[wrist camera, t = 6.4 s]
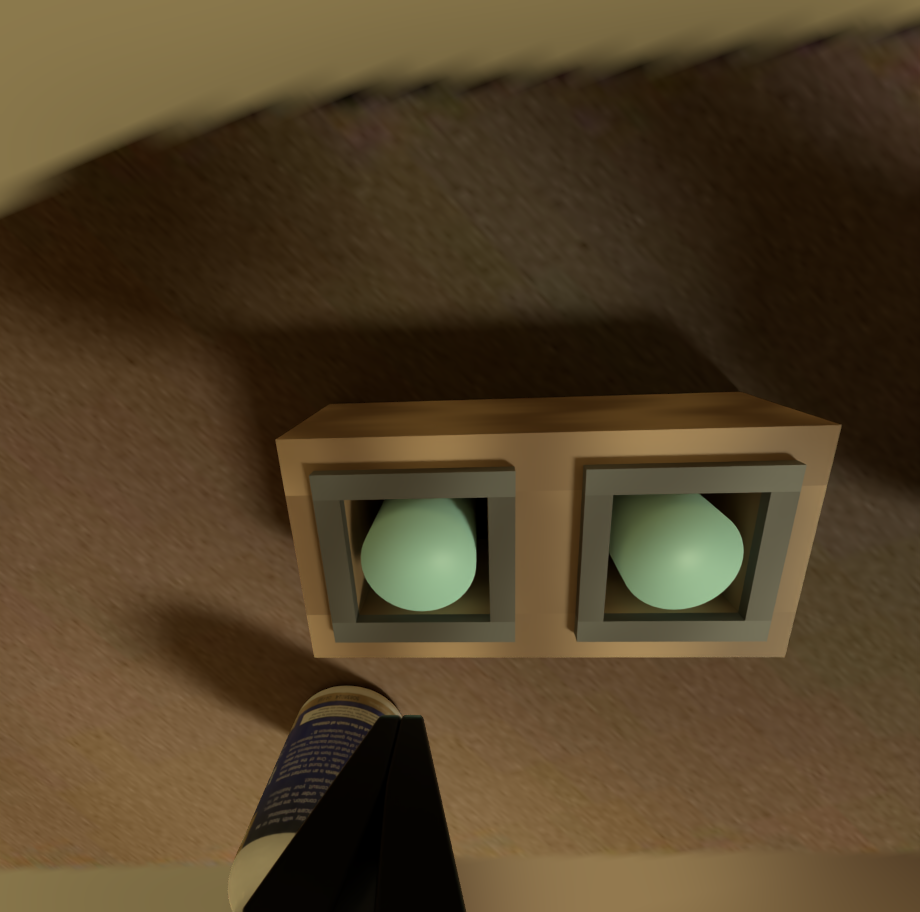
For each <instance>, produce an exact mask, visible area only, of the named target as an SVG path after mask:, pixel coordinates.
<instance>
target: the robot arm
mask: <svg viewBox="0 0 920 912" xmlns="http://www.w3.org/2000/svg"><path fill="white" fill-rule="evenodd" d="M242 912H466V909H465V904H464V900H463V895H462V891H461V886H460V882H459V877H458V872H457V868H456V864H455V859H454V854H453V850H452V845H451V841H450V836H449V832H448V827H447V823H446V818H445V814H444V809H443V805H442V800H441V796H440V791H439V787H438V782H437V777H436V773H435V768H434V764H433V759H432V755H431V750H430V746H429V741H428V737H427V732H426V728H425V723H424V719H423V717H422V716H421V715H404V716H403V717H402V718H401V716H399V715H382V716H380V717H379V718H378V719H377V720H376V722H375V723H374V725H373V726H372V727H371V729H370V730H369V732H368V733H367V734H366V736H365V737H364V739H363V740H362V741H361V743H360V744H359V746H358V747H357V748H356V750H355V751H354V753H353V754H352V755H351V757H350V758H349V760H348V761H347V762H346V764H345V765H344V767H343V768H342V769H341V771H340V772H339V774H338V775H337V776H336V778H335V779H334V781H333V782H332V784H331V785H330V786H329V788H328V789H327V791H326V792H325V793H324V795H323V796H322V798H321V799H320V800H319V802H318V803H317V805H316V806H315V807H314V809H313V810H312V812H311V813H310V814H309V816H308V817H307V819H306V820H305V821H304V823H303V824H302V826H301V827H300V828H299V830H298V831H297V833H296V834H295V836H294V837H293V838H292V840H291V841H290V843H289V844H288V845H287V847H286V848H285V850H284V851H283V852H282V854H281V855H280V857H279V858H278V859H277V861H276V862H275V864H274V865H273V866H272V868H271V869H270V871H269V872H268V873H267V875H266V876H265V878H264V879H263V880H262V882H261V883H260V885H259V886H258V888H257V889H256V890H255V892H254V893H253V895H252V896H251V897H250V899H249V900H248V902H247V903H246V904H245V906H244V907H243V910H242Z"/></svg>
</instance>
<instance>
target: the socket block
mask: <svg viewBox="0 0 920 912" xmlns="http://www.w3.org/2000/svg"><path fill="white" fill-rule="evenodd" d="M841 426H842V425H840V424H837V423H834V422H831V421H828V420H825V419H822V418H819V417H816V416H813V415H810V414H807V413H804V412H801V411H798V410H794V409H791V408H788V407H785V406H782V405H779V404H776V403H773V402H770V401H767V400H764V399H761V398H758V397H755V396H752V395H749V394H746V393H743V392H715V393H681V394H648V395H614V396H581V397H547V398H514V399H480V400H447V401H413V402H379V403H346V404H329V405H327V406H326V407H324V408H323V409H321V410H320V411H318V412H317V413H315V414H314V415H312V416H311V417H309V418H307V419H306V420H304V421H303V422H301V423H300V424H298V425H297V426H295V427H294V428H292V429H291V430H289V431H288V432H286V433H285V434H283V435H282V436H280V437H279V438H277V439H276V440H275V441H276V446H277V452H278V457H279V463H280V469H281V474H282V480H283V485H284V491H285V496H286V502H287V508H288V513H289V519H290V524H291V530H292V535H293V541H294V547H295V552H296V558H297V563H298V569H299V575H300V580H301V586H302V591H303V597H304V602H305V608H306V614H307V619H308V625H309V630H310V636H311V642H312V647H313V653H314V658H396V657H785V654H786V650H787V646H788V642H789V638H790V634H791V630H792V626H793V622H794V618H795V613H796V609H797V605H798V601H799V597H800V593H801V589H802V585H803V581H804V577H805V573H806V569H807V565H808V561H809V557H810V553H811V548H812V544H813V540H814V536H815V532H816V528H817V524H818V520H819V516H820V512H821V508H822V504H823V500H824V496H825V492H826V487H827V483H828V479H829V475H830V471H831V467H832V463H833V459H834V455H835V451H836V447H837V443H838V439H839V435H840V431H841ZM696 493H699V494H700V495H701V496H702V497H704V498H705V499H706V500H707V501H708V502H710V503H711V504H712V505H713V506H714V507H715V508H717V509H718V510H719V511H720V512H721V513H722V514H724V515H725V516H726V517H727V518H728V519H729V520H731V521H732V522H733V524H734V525H735V526H736V527H737V529H738V531H739V533H740V535H741V538H742V542H743V550H744V553H743V560H742V564H741V567H740V569H739V572H738V574H737V575H736V577H735V579H734V580H733V581H732V583H731V584H730V585H729V586H728V587H727V588H726V589H725V590H724V591H723V592H722V593H720V594H719V595H718V596H716V597H715V598H713V599H712V600H710V601H708V602H706V603H704V604H701V605H698V606H695V607H691V608H686V609H676V610H672V609H662V608H658V607H654V606H651V605H649V604H646V603H645V602H643V601H641V600H640V599H638V598H637V597H636V596H635V595H634V594H633V593H632V592H631V591H630V590H629V588H628V587H627V586H626V584H625V582H624V580H623V578H622V576H621V574H620V572H619V571H618V569H617V567H616V565H615V563H614V561H613V559H612V557H611V555H610V554H609V543H610V531H611V518H612V505H613V495H643V494H696ZM484 497H486V507H487V539H476V571H475V576H474V578H473V581H472V583H471V585H470V587H469V588H468V590H467V591H466V592H465V593H464V594H463V595H462V596H461V597H460V598H459V599H458V600H456V601H455V602H453V603H452V604H450V605H448V606H446V607H443V608H440V609H436V610H431V611H412V610H407V609H403V608H400V607H397V606H395V605H393V604H391V603H389V602H387V601H386V600H384V599H383V598H381V597H380V596H379V595H378V594H377V593H376V592H375V591H374V590H373V589H372V588H371V586H370V585H369V583H368V582H367V580H366V578H365V576H364V573H363V570H362V565H361V550H362V546H363V543H364V541H365V539H366V536H367V534H368V532H369V530H370V528H371V526H372V524H373V522H374V520H375V518H376V516H377V514H378V512H379V510H380V507H381V505H382V503H383V501H384V499H431V498H484Z"/></svg>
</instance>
